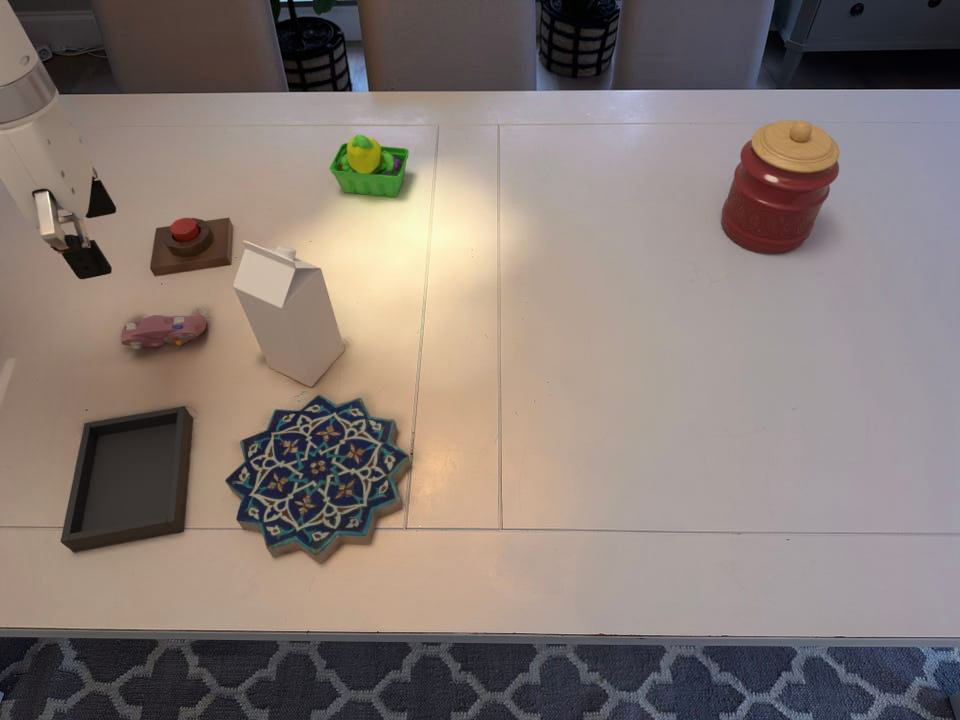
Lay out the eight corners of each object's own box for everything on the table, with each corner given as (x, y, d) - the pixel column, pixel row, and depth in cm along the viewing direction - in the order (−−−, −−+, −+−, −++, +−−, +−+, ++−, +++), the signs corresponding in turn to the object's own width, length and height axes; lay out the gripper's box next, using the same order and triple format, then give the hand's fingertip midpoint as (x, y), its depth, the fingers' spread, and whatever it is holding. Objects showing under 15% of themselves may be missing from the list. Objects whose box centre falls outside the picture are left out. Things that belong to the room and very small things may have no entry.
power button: (173, 244, 98) (169, 235, 97) (175, 228, 100) (171, 219, 99) (199, 241, 98) (194, 231, 97) (200, 225, 101) (196, 216, 99)
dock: (73, 552, 72) (60, 542, 70) (95, 435, 82) (84, 422, 79) (183, 531, 73) (174, 520, 71) (193, 418, 83) (184, 405, 81)
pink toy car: (137, 358, 91) (111, 346, 84) (135, 325, 92) (110, 311, 85) (211, 348, 92) (192, 335, 85) (209, 315, 93) (190, 301, 86)
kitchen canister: (703, 210, 105) (733, 106, 91) (776, 192, 107) (816, 88, 93) (748, 265, 97) (790, 160, 83) (826, 244, 99) (879, 139, 85)
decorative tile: (264, 400, 84) (258, 389, 82) (421, 411, 82) (419, 400, 81) (208, 553, 72) (200, 544, 70) (391, 570, 70) (388, 561, 68)
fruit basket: (413, 174, 112) (405, 112, 103) (400, 208, 107) (391, 146, 98) (347, 168, 114) (334, 107, 105) (331, 201, 108) (316, 140, 99)
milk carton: (311, 388, 85) (271, 282, 70) (268, 367, 87) (220, 260, 72) (345, 350, 89) (313, 241, 74) (303, 331, 91) (264, 221, 76)
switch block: (154, 276, 98) (144, 258, 96) (160, 236, 104) (151, 218, 101) (230, 264, 100) (223, 247, 97) (232, 225, 105) (225, 207, 102)
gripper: (-27, 49, 61) (68, 200, 75) (-67, 156, 51) (52, 309, 64) (60, 35, 62) (138, 187, 76) (38, 138, 52) (134, 292, 65)
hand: (99, 243), depth 70 cm, fingers open, 9 cm apart
